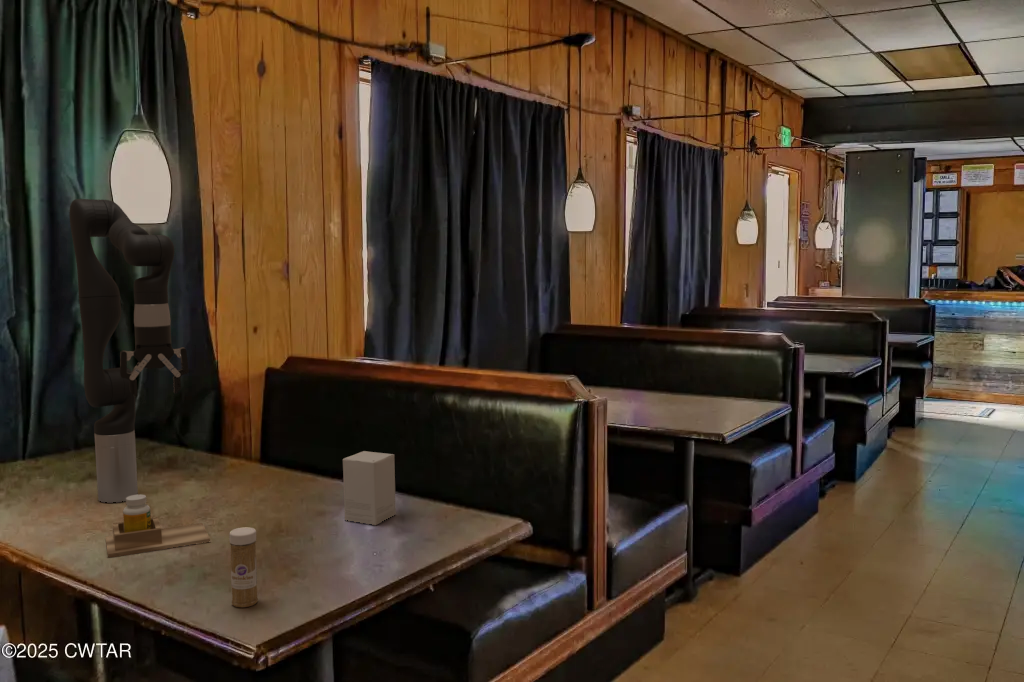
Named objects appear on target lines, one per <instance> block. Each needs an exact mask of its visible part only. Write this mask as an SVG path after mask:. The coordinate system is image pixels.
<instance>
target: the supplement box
mask: <svg viewBox="0 0 1024 682" xmlns="http://www.w3.org/2000/svg"><path fill="white" fill-rule="evenodd" d="M395 468H396V467H395V454H393V453H385V452H384V453H383V452H376V451H374V452H373V451H366V450H363V451H360V452H358V453H355V454H353V455H350V456H347V457H344V458H343V459H342V471H343V472H342V473H343V508H344V511H343V512H344V521H345V520H346V521H345V522H350V521H354V522H353V523H356V522H360V523H359V524H363V523H366V524H365V525H369V524H372V525H371V526H377V525H379V524H381V523H383V522H385V521H387V520H388V518H389V519H390V517H391V518H393V517H394V515H395V514H397V513H396V512H397V510H396V478H395V476H396V474H395V473H396V472H395ZM392 516H393V517H392ZM395 516H396V515H395ZM386 519H387V520H386ZM347 520H348V521H347ZM384 520H385V521H384ZM382 521H383V522H382Z"/></svg>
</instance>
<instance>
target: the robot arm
mask: <svg viewBox="0 0 1024 682" xmlns="http://www.w3.org/2000/svg"><path fill="white" fill-rule="evenodd" d="M68 213H69V224H70V231H71V232H70V233H71V236H72V242H73V243H72V244H73V249H74V254H75V255H74V256H75V263H76V272H77V286H78V287H77V288H78V301H79V302H78V304H79V313H80V314H79V315H80V320H81V321H80V323H81V330H82V342H83V386H84V387H83V388H84V394H85V398H86V401H87V402H88V404H89V406H91V407H92V408H100V407H111V406H113V409H112V410H111V411H110V412H109V413H108V414H106V415H105V416H103V417H101V418H99V419H97V420H96V421H95V422H94V425H93V432H94V434H93V435H94V445H95V446H94V447H95V449H94V450H95V465H96V466H95V467H96V483H97V484H96V485H97V486H96V487H97V499H98V500H97V501H98V502H100V501H101V502H100V503H105V502H107V503H109V504H110V503H111V504H114V503H113V502H116V503H122V501H123V502H126V498H127V497H128V496H132V495H139V493H138V491H139V490H138V473H137V471H138V469H137V468H138V467H137V448H136V446H137V445H136V433H135V432H136V431H135V428H136V427H135V424H136V423H135V422H136V414H137V413H136V397H138V383H137V382H138V381H137V379H136V378H137V377H138V376H139V375H140V373H141V372H142V371H143V370H144V369H147V370H152V369H163V368H164V367H166V368H167V369H168V370H169V371H170V372H171V373H172V375H173V377H172V380H173V381H172V383H173V393H174V394H179V391H181V390H182V385H181V377H182V376H184V375H187V374H188V373H189V362H188V352H187V348H185V347H183V346H181V347H180V348H173V346H172V334H171V333H172V332H171V331H172V329H171V321H172V320H171V315H170V314H171V312H170V306H169V294H168V293H169V292H168V291H169V290H168V289H169V288H168V287H169V279H170V274H171V270H172V265H173V262H174V258H175V246H174V242H173V241H172V240H171V238H170V237H169V236H167V235H166V234H165V235H164V234H149V232H148V231H146V230H145V229H144V228H143V227H141V226H139V225H137V224H136V223H134V222H133V221H131V219H130V218H129V217H128V215H127V214H126V213H125V211H124V210H123V209H122V208H121V206H120V205H118V204H117V203H116V202H114V201H113V200H109V199H95V198H93V199H89V198H75V199H73V200H72V201H71V203H70V206H69V212H68ZM108 237H109V240H110V243H111V244H112V246H113V247H115V248H116V249H118V250H119V251H120V252H121V253H122V254H123V258H124V260H125V262H126V264H128V265H130V266H134V267H154V268H153V270H152V272H151V274H149V275H146V276H142V277H138V278H136V279H135V280H134V281H133V301H134V308H133V309H134V310H133V324H134V326H133V327H134V344H135V345H134V346H135V347H134V350H133V351H131V350H129V351H128V350H121V351H120V353H119V354H120V355H119V357H120V359H119V360H120V361H119V362H120V363H119V367H113V368H104V354H105V350H106V348H107V345H108V343H109V341H110V340H111V337H112V336H113V334H114V332H115V331H116V330H117V327H118V325H119V323H120V320H121V319H122V305H121V304H122V302H121V293H120V289H119V287H118V284H117V283H116V281H115V280H114V279H113V277H112V276H111V274H110V273H109V272H108V271H107V270H106V269H105V267H104V266H103V265H102V263H101V262H100V260H99V258H98V257H97V255H96V254H95V250H94V248H93V244H92V240H91V238H108ZM174 354H175V355H176V356H177V358H179V359H180V366H181V368H180V369H177V368H176V367H175V366H174V365H173V364H172V363H171V362H170V360H171V359H172V358H173V356H174ZM132 357H134V358H135V360H136V361H138V362H137V363H136V365H135V366H134V367H133V369H132V370H130V369H129V368H128V367H127V365H128V362H129V361H130V360H131V358H132ZM127 361H128V362H127ZM107 503H106V504H107Z"/></svg>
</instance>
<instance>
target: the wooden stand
mask: <svg viewBox="0 0 1024 682" xmlns="http://www.w3.org/2000/svg"><path fill="white" fill-rule="evenodd" d="M209 541H210V542H211V538H210V536H209V534H208V532H207V530H206V528H205V525H204V523H203V522H199V523H192V524H186V525H184V524H183V525H178V526H171V527H170V526H169V527H163V528H162V527H161V524H160V520H159V517H157V516H156V517H151V529H148V530H141V531H134V532H127V533H124V521H120V522H119V521H117V522H112V535H107V536H105V543H106V544H105V545H106V551H107V552H106V553H107V559H109V558H117V557H123V556H129V555H130V556H131V555H135V554H141V553H148V552H149V551H150V552H156V551H162V549H163V550H168V549H167V548H170V549H174V548H173V547H176V548H179V547H178V546H183V547H185V546H184V545H189V546H191V545H190V544H196V543H202V542H209ZM210 542H209V543H210ZM196 545H197V544H196ZM155 550H156V551H155Z"/></svg>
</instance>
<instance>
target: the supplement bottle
mask: <svg viewBox="0 0 1024 682" xmlns="http://www.w3.org/2000/svg"><path fill="white" fill-rule="evenodd" d="M125 504H126V506H125V507H124V508H123V510H122V518H123V520H122V521H123V522H124V533H127V532H134V531H141V530H148V529H151V518H152V515H151V507H150V506H149V505H148V504H147V496H146V494H138V495H132V496H128V497H127V498H126V501H125Z"/></svg>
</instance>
